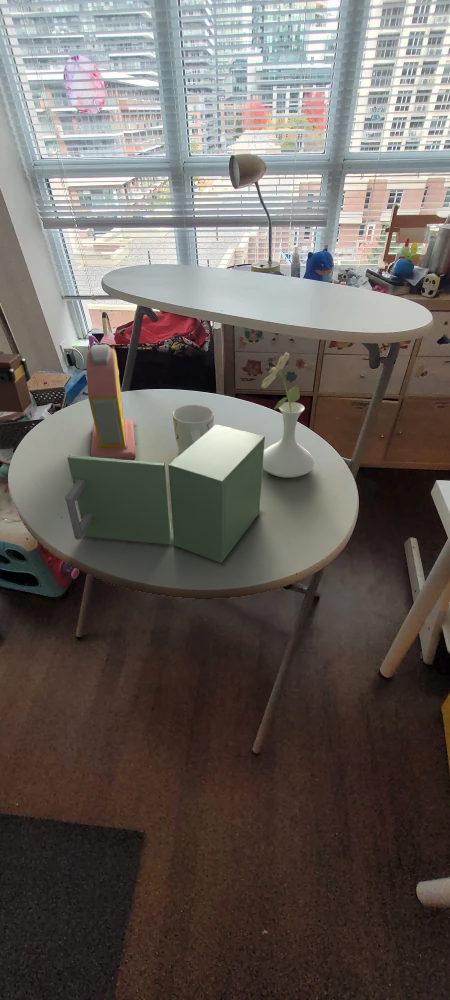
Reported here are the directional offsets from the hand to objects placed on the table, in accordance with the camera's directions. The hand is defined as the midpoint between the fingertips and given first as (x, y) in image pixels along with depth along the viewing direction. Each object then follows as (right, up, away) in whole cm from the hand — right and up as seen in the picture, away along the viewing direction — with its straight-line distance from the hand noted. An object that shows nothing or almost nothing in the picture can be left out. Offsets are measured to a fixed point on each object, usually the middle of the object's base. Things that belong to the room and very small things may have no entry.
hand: (19, 370), depth 74 cm
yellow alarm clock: (+8, -8, +29) cm, 32 cm away
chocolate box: (-3, -5, +4) cm, 7 cm away
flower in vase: (+46, -15, +21) cm, 52 cm away
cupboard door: (+17, -29, +1) cm, 34 cm away
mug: (+27, -12, +24) cm, 38 cm away
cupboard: (+32, -26, +6) cm, 42 cm away
